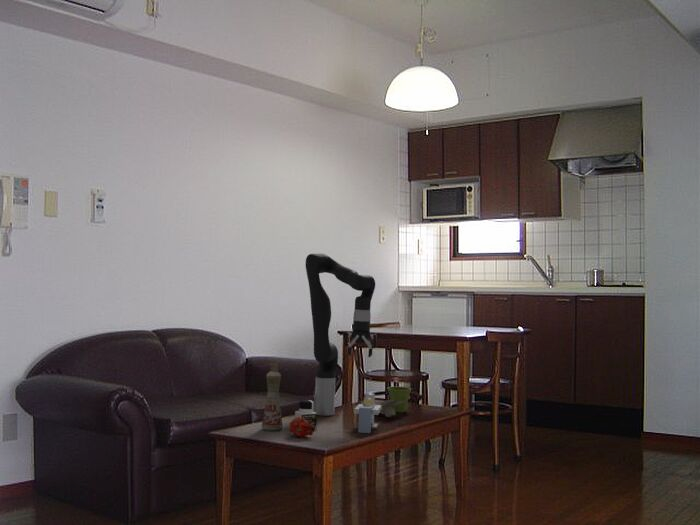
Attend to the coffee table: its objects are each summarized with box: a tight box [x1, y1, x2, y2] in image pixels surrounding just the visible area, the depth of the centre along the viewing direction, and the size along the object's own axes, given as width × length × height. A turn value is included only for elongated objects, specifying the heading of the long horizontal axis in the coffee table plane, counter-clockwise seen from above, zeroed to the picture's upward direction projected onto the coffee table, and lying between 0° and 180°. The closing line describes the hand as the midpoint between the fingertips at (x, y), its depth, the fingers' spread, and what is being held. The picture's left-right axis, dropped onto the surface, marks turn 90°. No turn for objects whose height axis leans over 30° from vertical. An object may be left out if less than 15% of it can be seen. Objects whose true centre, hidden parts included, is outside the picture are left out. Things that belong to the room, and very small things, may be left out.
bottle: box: [261, 361, 284, 432], centre depth 336 cm, size 9×9×28 cm
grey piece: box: [353, 392, 382, 429], centre depth 345 cm, size 10×14×14 cm
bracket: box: [358, 403, 374, 434], centre depth 340 cm, size 5×12×10 cm, turn 172°
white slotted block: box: [377, 399, 405, 418], centre depth 375 cm, size 16×9×15 cm
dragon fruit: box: [287, 417, 316, 439], centre depth 321 cm, size 8×8×12 cm
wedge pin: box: [365, 398, 372, 406], centre depth 342 cm, size 3×3×13 cm
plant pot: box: [386, 386, 412, 414], centre depth 392 cm, size 12×12×11 cm
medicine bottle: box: [294, 399, 318, 431], centre depth 339 cm, size 7×7×12 cm
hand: (359, 356), depth 358 cm, fingers open, 8 cm apart
